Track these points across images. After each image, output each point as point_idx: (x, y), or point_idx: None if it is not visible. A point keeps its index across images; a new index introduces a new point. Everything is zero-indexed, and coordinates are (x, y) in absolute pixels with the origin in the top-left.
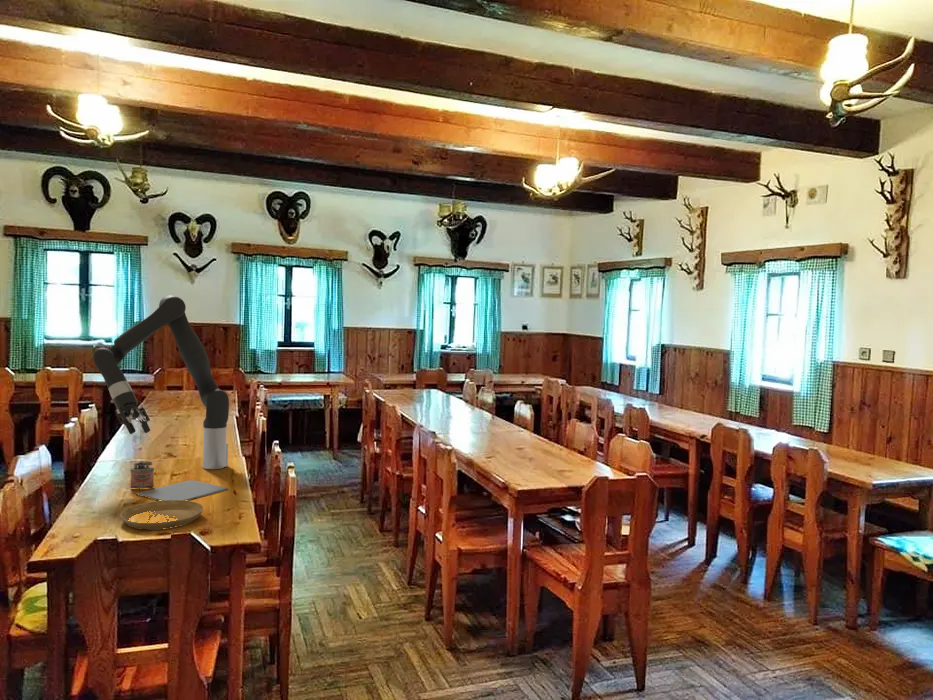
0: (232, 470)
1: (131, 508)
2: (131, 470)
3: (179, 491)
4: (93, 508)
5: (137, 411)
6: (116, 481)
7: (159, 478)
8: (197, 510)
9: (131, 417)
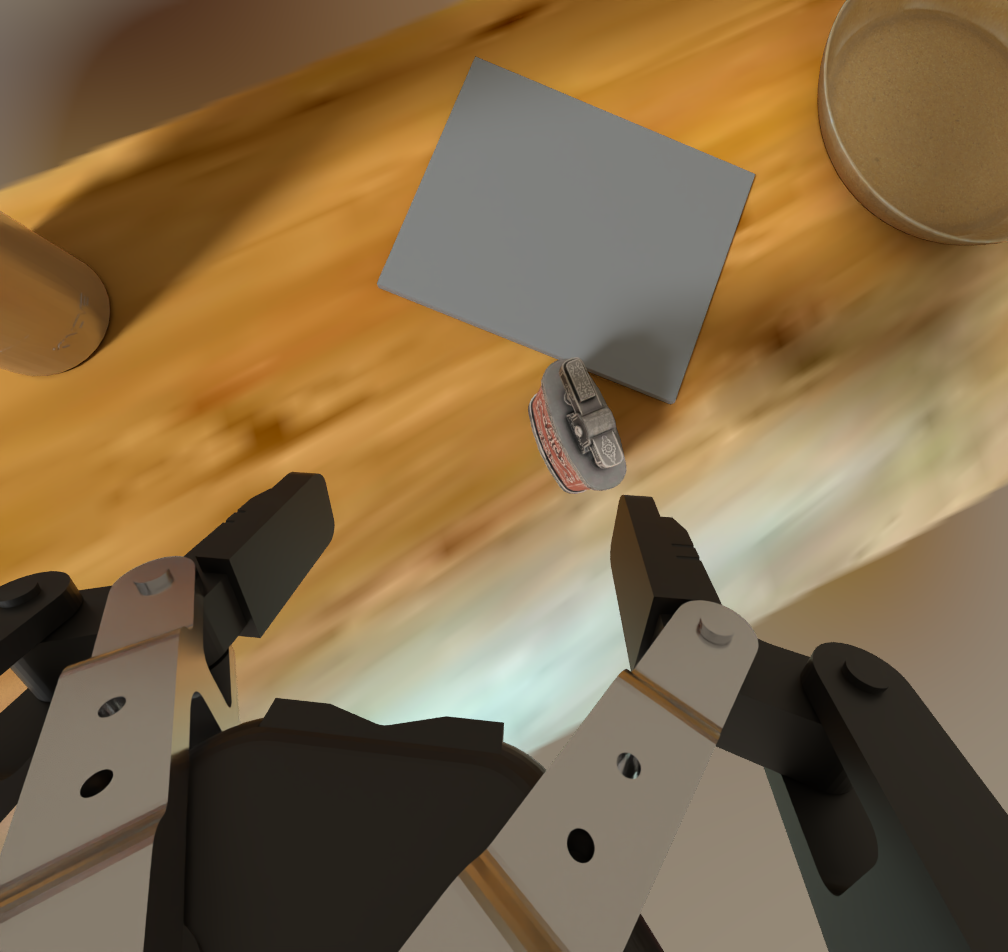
0: (98, 190)
1: (959, 238)
2: (623, 472)
3: (590, 235)
4: (889, 453)
5: (155, 875)
6: (476, 640)
7: (362, 468)
8: (851, 20)
9: (656, 684)
